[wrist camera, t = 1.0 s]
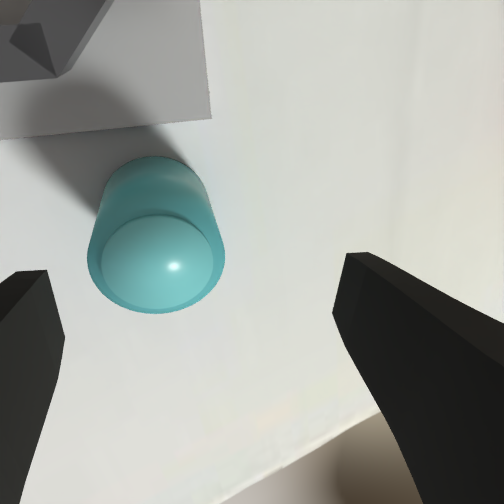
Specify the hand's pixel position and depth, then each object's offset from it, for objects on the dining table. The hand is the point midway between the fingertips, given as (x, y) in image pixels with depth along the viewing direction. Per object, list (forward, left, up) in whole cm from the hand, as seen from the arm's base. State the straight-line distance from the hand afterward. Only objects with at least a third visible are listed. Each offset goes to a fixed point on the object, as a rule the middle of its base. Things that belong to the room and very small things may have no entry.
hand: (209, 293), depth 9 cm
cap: (-1, -2, -10) cm, 10 cm away
